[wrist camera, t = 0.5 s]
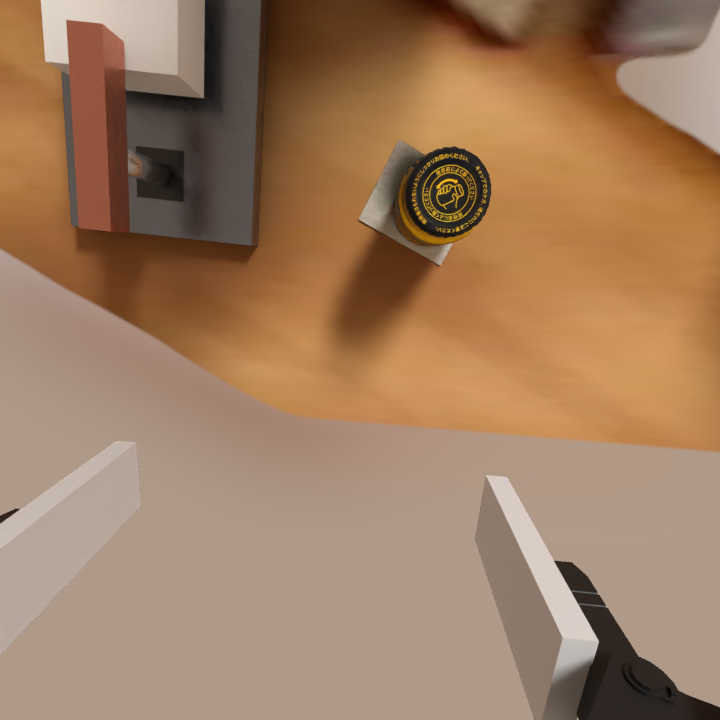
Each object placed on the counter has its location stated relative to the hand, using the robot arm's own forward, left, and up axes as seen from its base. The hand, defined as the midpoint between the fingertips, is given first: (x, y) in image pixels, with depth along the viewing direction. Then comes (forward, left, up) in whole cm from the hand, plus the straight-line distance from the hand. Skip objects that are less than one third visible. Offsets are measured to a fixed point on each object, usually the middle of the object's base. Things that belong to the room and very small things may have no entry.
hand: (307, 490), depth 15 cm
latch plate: (-18, -18, -25) cm, 36 cm away
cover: (-23, -18, -21) cm, 36 cm away
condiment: (-13, +5, -26) cm, 29 cm away
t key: (-13, -18, -23) cm, 32 cm away
